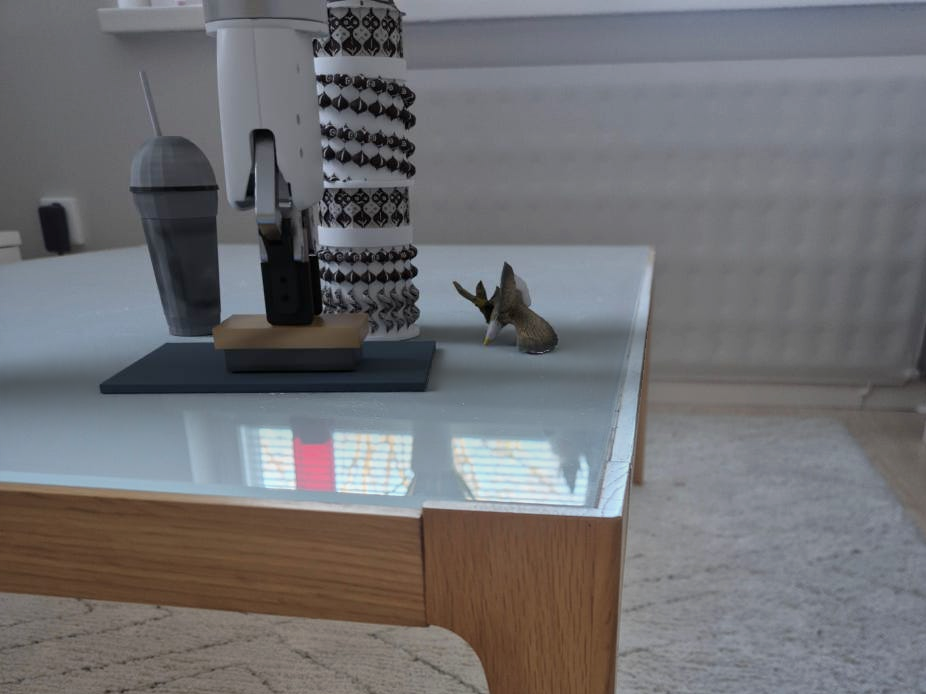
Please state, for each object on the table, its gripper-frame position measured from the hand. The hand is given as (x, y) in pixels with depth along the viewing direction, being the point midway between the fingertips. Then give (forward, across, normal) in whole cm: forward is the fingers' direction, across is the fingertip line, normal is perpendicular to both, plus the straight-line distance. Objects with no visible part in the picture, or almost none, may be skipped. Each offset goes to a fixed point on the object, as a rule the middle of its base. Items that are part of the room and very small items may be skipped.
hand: (295, 316), depth 66 cm
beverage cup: (+4, -18, -13) cm, 22 cm away
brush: (+3, 0, 0) cm, 3 cm away
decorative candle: (+4, -16, +3) cm, 17 cm away
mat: (+4, -2, -2) cm, 5 cm away
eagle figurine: (+4, -11, +15) cm, 19 cm away
